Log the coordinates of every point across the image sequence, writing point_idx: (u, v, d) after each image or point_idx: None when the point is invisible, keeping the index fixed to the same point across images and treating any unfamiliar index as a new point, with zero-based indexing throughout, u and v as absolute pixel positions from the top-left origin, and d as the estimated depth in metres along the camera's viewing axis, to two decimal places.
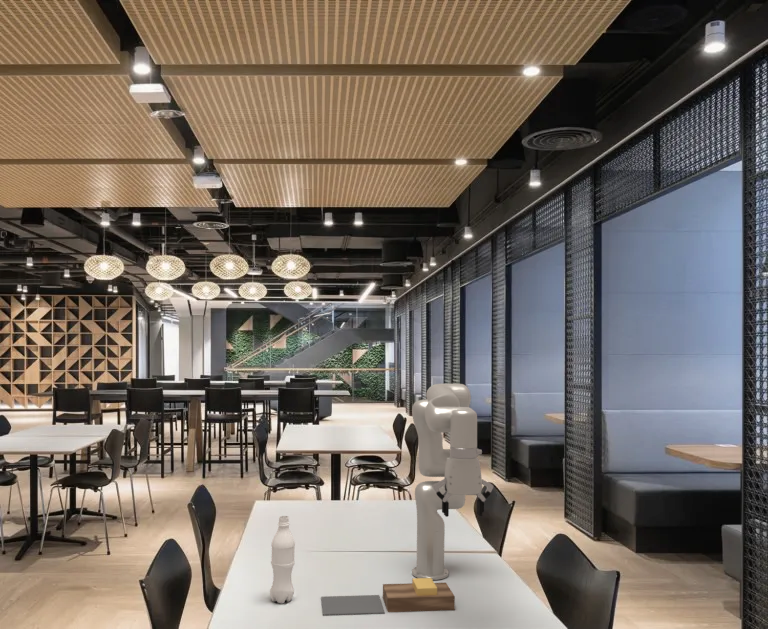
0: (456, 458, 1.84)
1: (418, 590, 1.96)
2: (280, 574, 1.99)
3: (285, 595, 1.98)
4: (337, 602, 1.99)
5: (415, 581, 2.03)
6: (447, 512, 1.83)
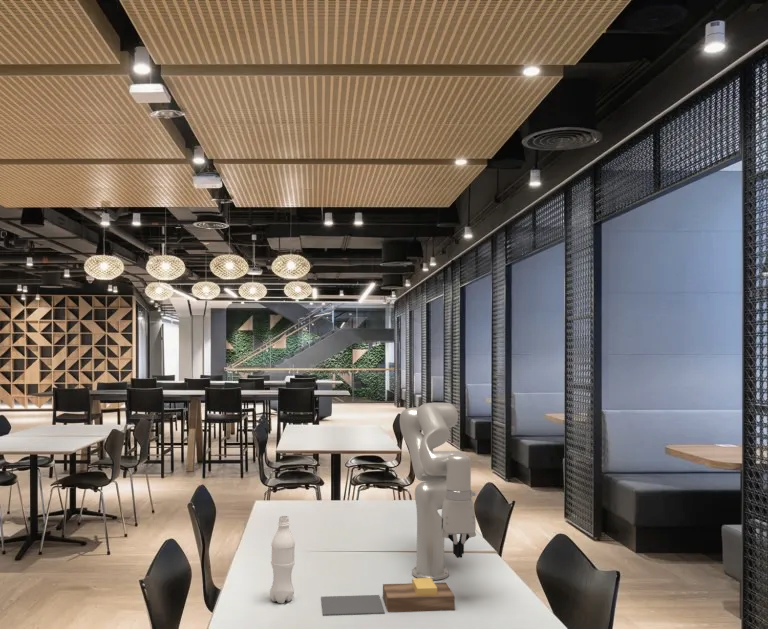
0: (452, 500, 2.01)
1: (418, 590, 1.96)
2: (280, 574, 1.99)
3: (285, 595, 1.98)
4: (337, 602, 1.99)
5: (415, 581, 2.03)
6: (458, 553, 2.01)
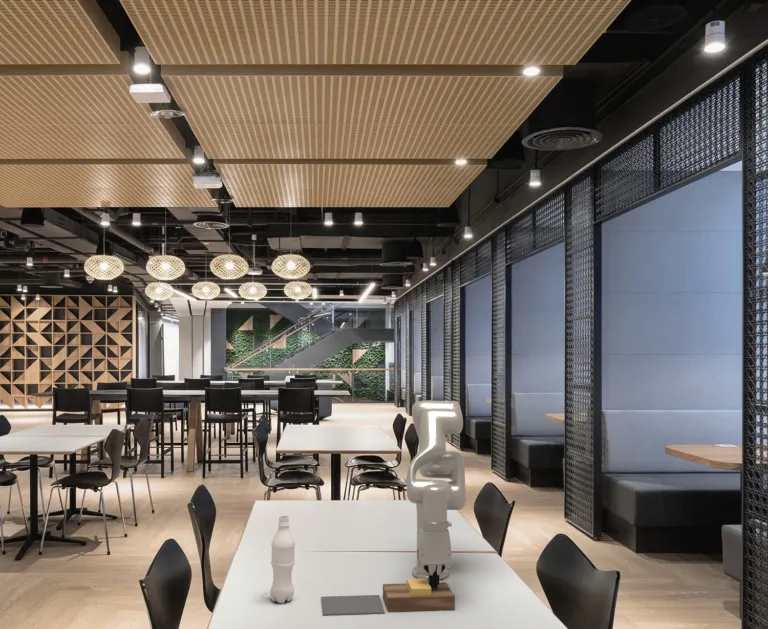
0: (427, 531, 2.00)
1: (412, 590, 1.96)
2: (280, 574, 1.99)
3: (285, 595, 1.98)
4: (337, 602, 1.99)
5: (409, 581, 2.02)
6: (433, 585, 2.00)
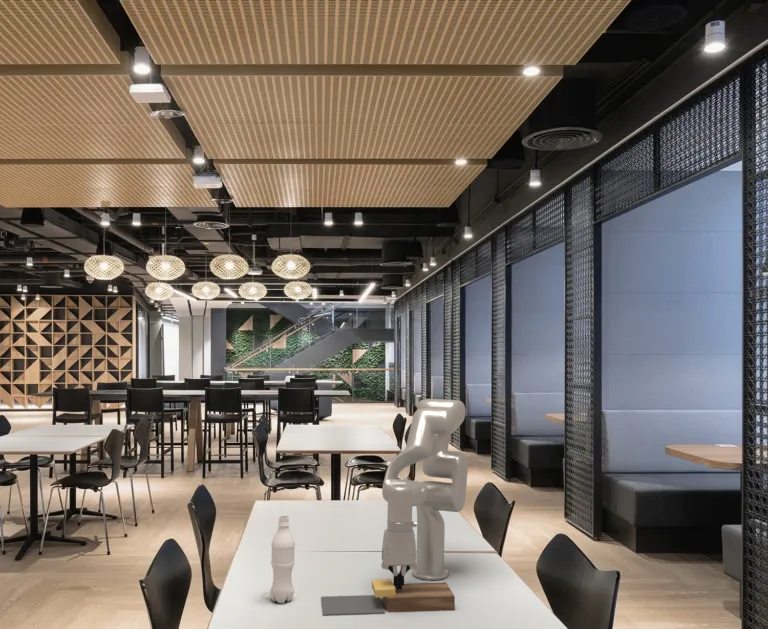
0: (392, 531, 1.98)
1: (376, 592, 1.95)
2: (280, 574, 1.99)
3: (285, 595, 1.98)
4: (337, 602, 1.99)
5: (374, 582, 2.01)
6: (398, 585, 1.98)
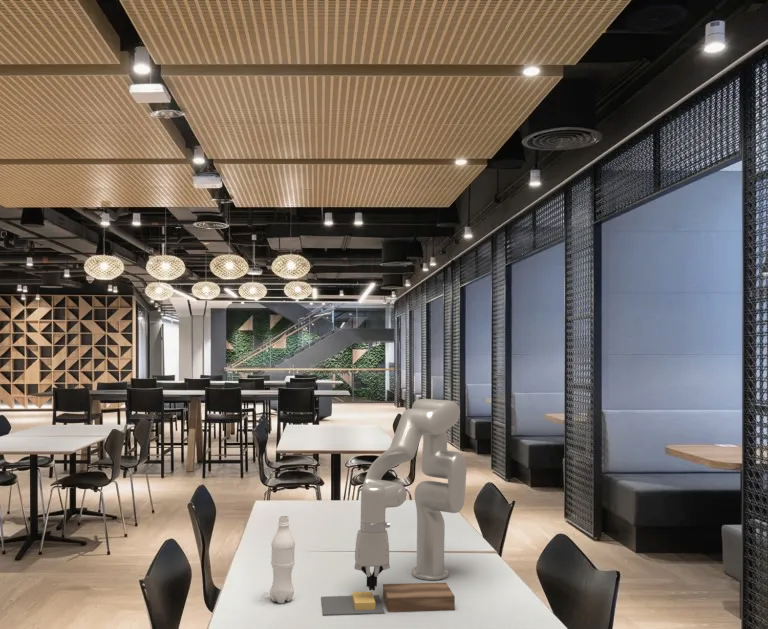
0: (365, 532, 1.97)
1: (374, 607, 1.94)
2: (280, 574, 1.99)
3: (285, 595, 1.98)
4: (337, 602, 1.99)
5: None
6: (370, 586, 1.98)
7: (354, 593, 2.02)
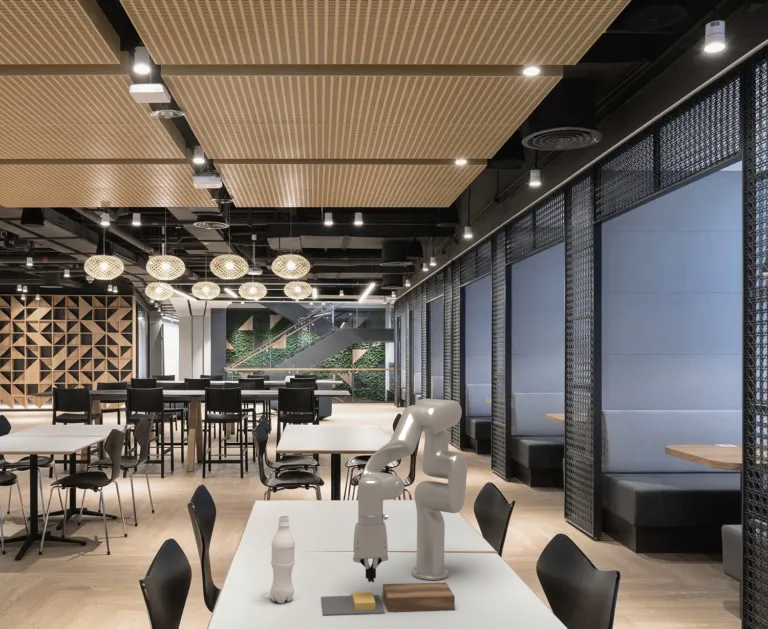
0: (362, 525, 1.98)
1: (374, 607, 1.94)
2: (280, 574, 1.99)
3: (285, 595, 1.98)
4: (337, 602, 1.99)
5: None
6: (369, 578, 1.98)
7: (354, 593, 2.02)
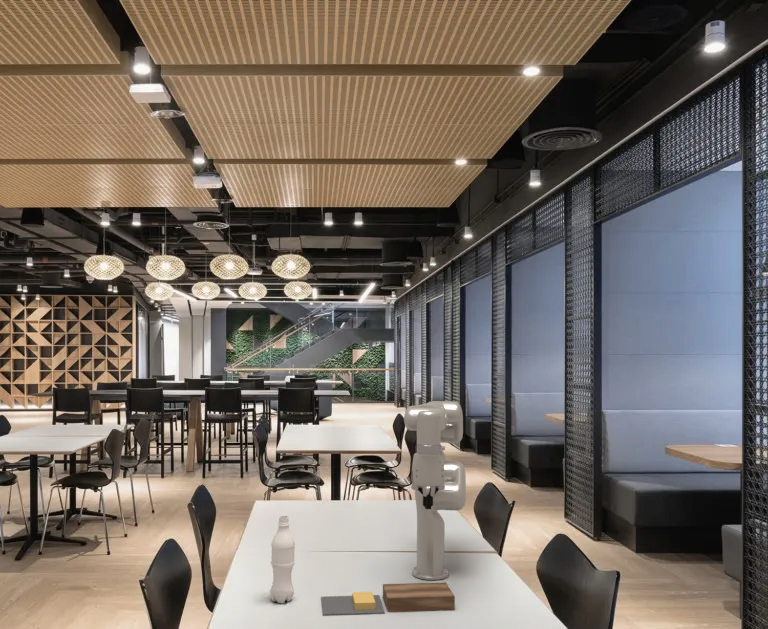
0: (421, 454, 2.07)
1: (374, 607, 1.94)
2: (280, 574, 1.99)
3: (285, 595, 1.98)
4: (337, 602, 1.99)
5: None
6: (427, 505, 2.07)
7: (354, 593, 2.02)
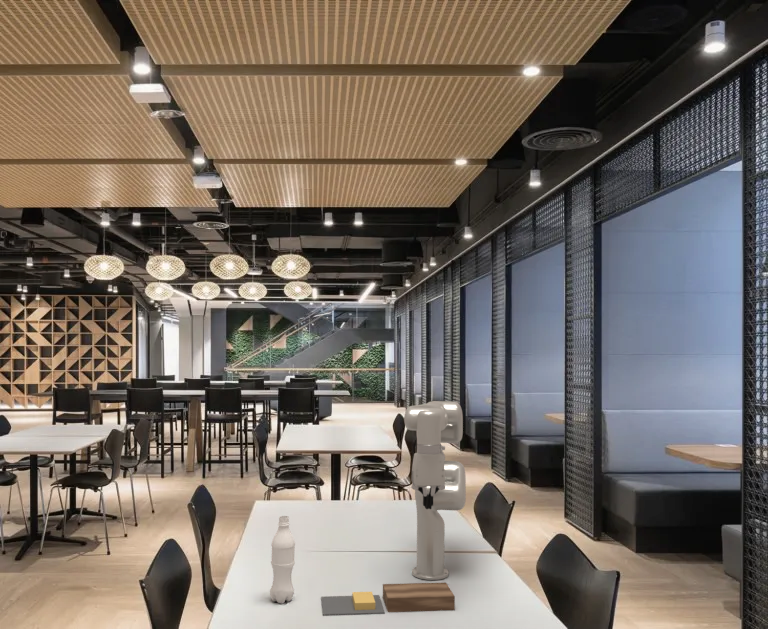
0: (422, 453, 2.07)
1: (374, 607, 1.94)
2: (280, 574, 1.99)
3: (285, 595, 1.98)
4: (337, 602, 1.99)
5: None
6: (427, 505, 2.07)
7: (354, 593, 2.02)
